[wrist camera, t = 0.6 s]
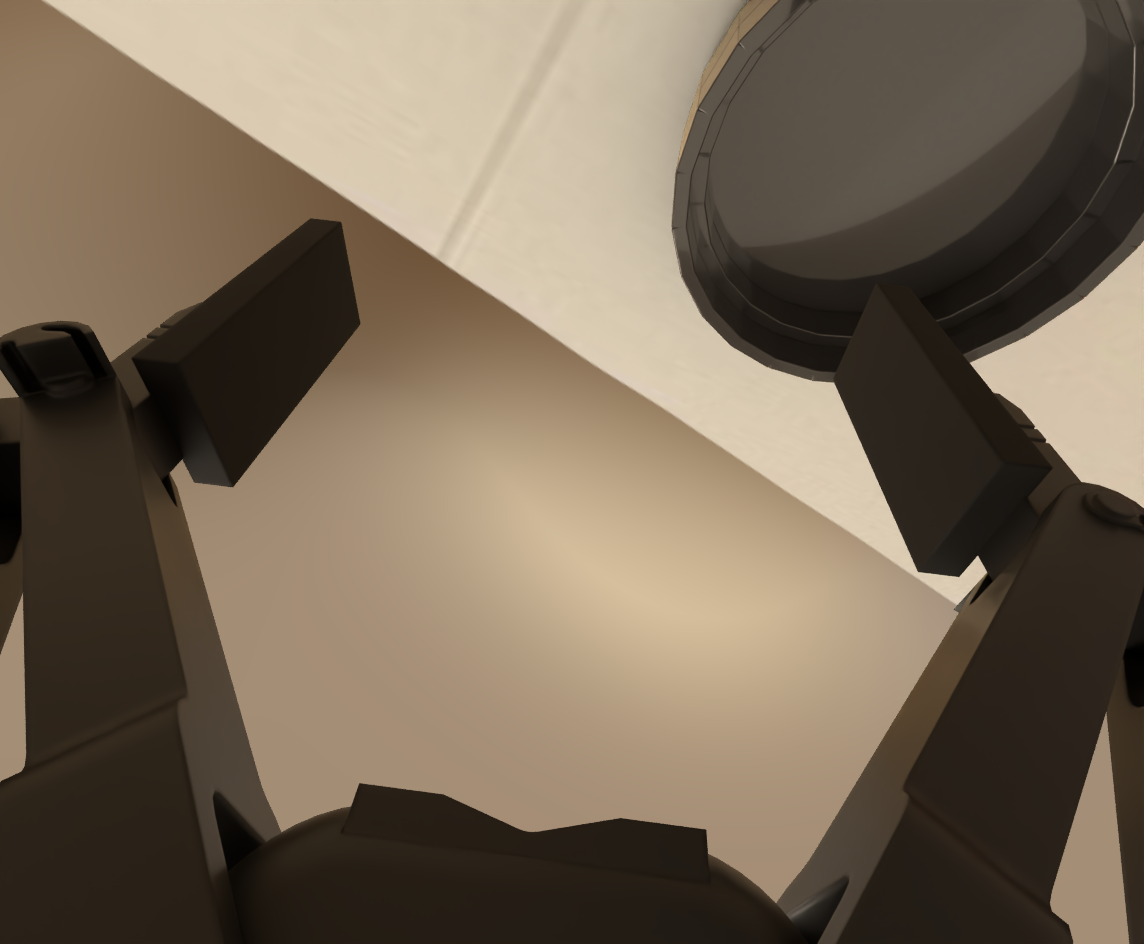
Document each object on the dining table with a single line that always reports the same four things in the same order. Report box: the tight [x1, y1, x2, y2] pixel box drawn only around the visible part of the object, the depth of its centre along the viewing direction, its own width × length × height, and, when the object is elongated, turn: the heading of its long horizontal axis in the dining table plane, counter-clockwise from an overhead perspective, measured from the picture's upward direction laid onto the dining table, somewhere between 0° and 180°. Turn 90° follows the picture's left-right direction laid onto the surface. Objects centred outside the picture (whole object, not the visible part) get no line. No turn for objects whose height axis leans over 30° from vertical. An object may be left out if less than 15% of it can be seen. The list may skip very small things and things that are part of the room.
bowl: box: [672, 0, 1144, 382], centre depth 29 cm, size 22×22×6 cm
